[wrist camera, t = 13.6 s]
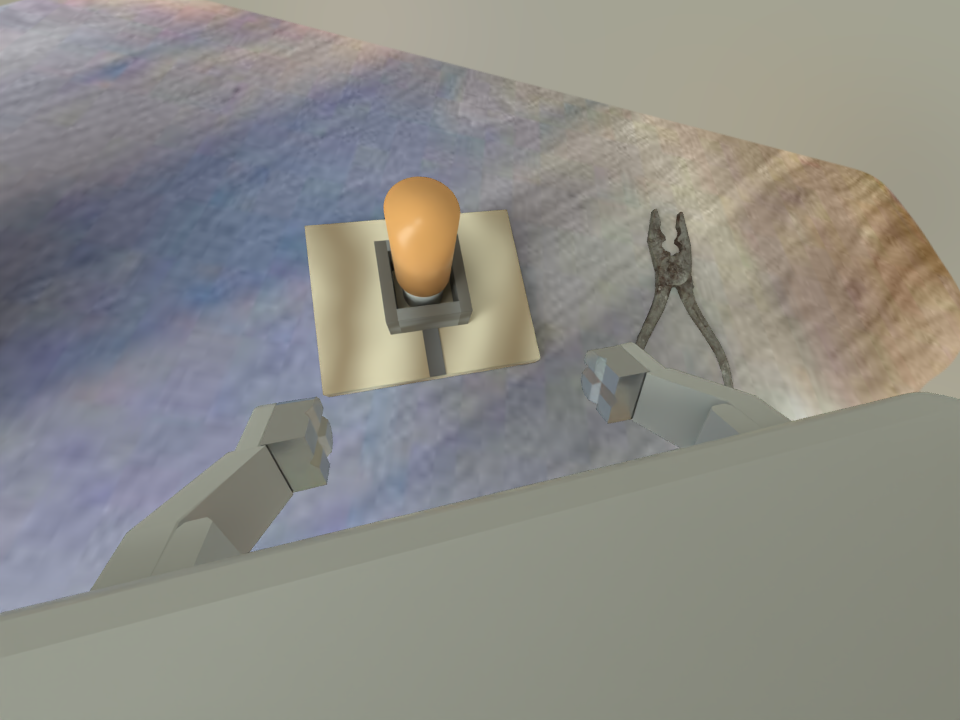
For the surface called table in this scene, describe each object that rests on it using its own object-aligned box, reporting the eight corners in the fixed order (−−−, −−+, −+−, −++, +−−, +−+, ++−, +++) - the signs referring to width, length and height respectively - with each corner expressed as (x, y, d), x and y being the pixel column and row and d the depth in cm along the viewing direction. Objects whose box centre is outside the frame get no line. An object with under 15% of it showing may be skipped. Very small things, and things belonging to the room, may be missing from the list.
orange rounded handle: (402, 317, 25) (389, 247, 15) (395, 273, 26) (378, 178, 16) (450, 311, 26) (466, 240, 16) (442, 268, 26) (453, 175, 17)
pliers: (646, 434, 27) (590, 213, 31) (640, 434, 28) (586, 219, 32) (746, 413, 29) (682, 206, 33) (737, 414, 30) (676, 212, 33)
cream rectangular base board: (329, 397, 25) (308, 390, 20) (311, 236, 27) (288, 199, 23) (534, 362, 28) (554, 349, 23) (503, 220, 30) (515, 184, 25)
